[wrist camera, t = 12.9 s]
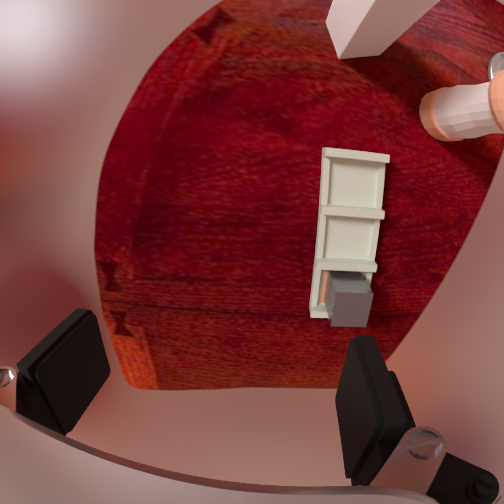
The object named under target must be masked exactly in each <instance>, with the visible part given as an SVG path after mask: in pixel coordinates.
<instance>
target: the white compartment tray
mask: <svg viewBox="0 0 504 504" xmlns="http://www.w3.org/2000/svg"><path fill="white" fill-rule="evenodd" d="M389 159H390V155H386V154H379V153H372V152H364V151H355V150H346V149H336V148H322V166H321V185H320V200H319V214H318V227H317V238H316V249H315V260H314V269H313V279H312V288H311V296H310V305H309V309H310V315H311V317H312V318H328V314H327V310H326V306H325V302H324V295H325V288H326V281H327V274H328V270H338V271H359V272H361V273H362V275H363V277H364V278H365V280H366V282H367V283H368V285H369V287H370V284H371V279H372V273H373V272H376V270H377V264H376V263H375V255H376V248H377V241H378V234H379V226H380V219H384V216H385V211H383V210H382V200H383V190H384V178H385V163H389Z"/></svg>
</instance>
